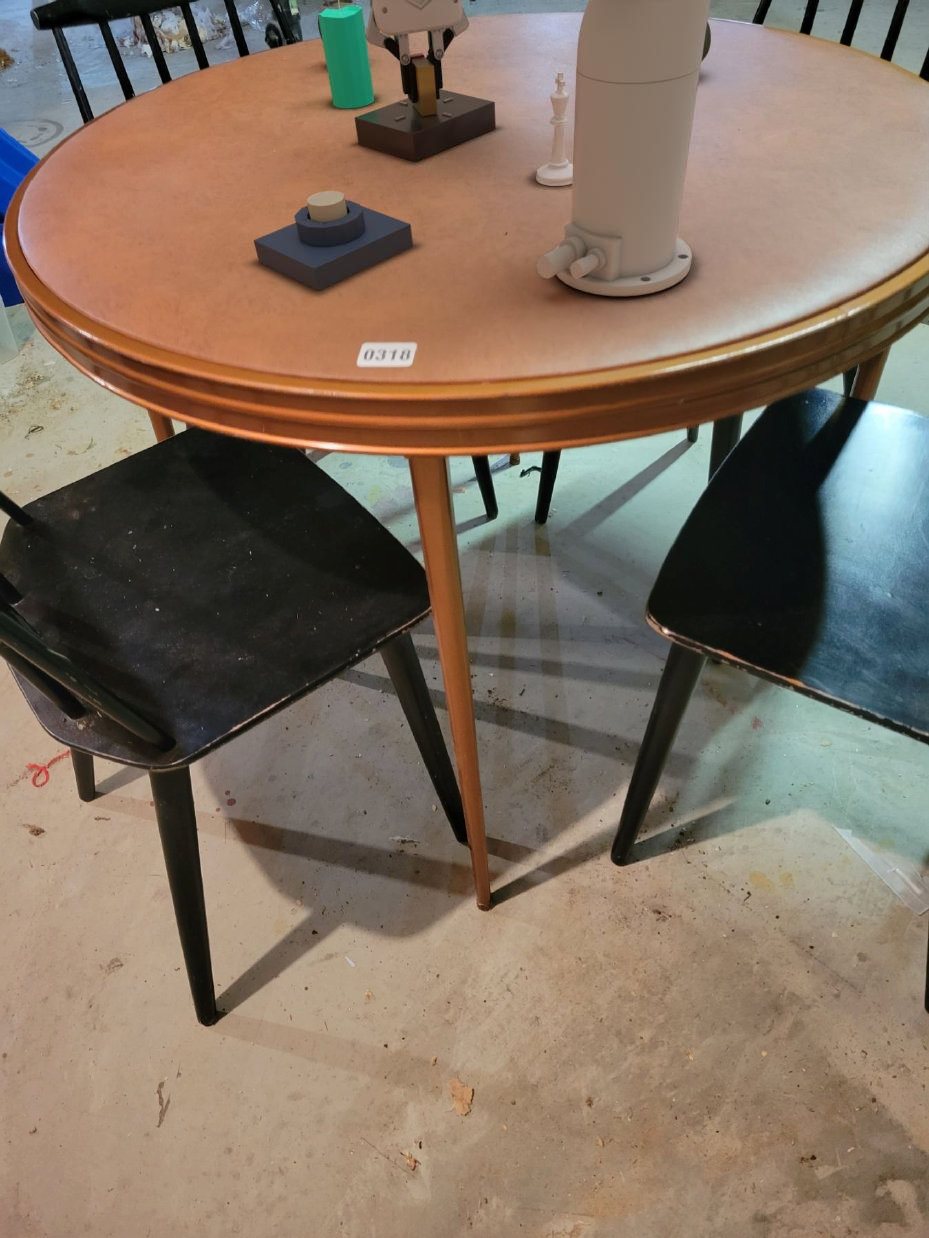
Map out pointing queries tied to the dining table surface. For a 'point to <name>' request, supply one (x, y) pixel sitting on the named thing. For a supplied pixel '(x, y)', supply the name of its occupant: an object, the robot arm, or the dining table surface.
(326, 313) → the dining table surface
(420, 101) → the lock knob
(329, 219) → the bell button
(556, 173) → the chess piece
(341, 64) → the candle
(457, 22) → the robot arm
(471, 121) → the plate
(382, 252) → the button base
